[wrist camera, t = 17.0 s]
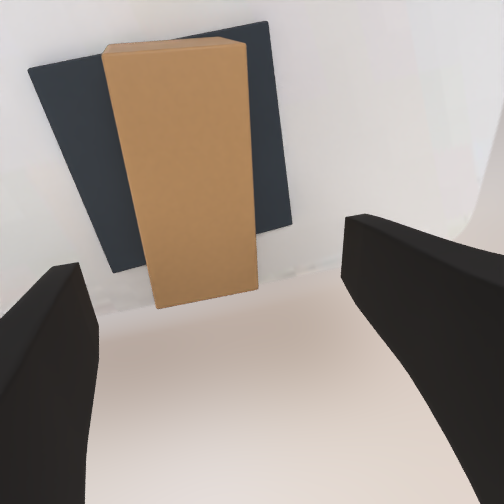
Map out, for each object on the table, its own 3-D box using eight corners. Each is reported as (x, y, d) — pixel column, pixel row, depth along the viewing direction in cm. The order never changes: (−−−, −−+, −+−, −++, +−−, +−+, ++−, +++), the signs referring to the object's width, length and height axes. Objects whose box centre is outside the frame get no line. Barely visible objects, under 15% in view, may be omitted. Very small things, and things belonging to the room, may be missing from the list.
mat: (113, 268, 22) (113, 273, 21) (29, 68, 16) (26, 69, 16) (289, 220, 23) (292, 224, 23) (265, 20, 18) (268, 20, 17)
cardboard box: (236, 242, 22) (259, 289, 18) (151, 257, 21) (156, 310, 18) (220, 36, 17) (246, 42, 13) (106, 44, 16) (100, 53, 12)
